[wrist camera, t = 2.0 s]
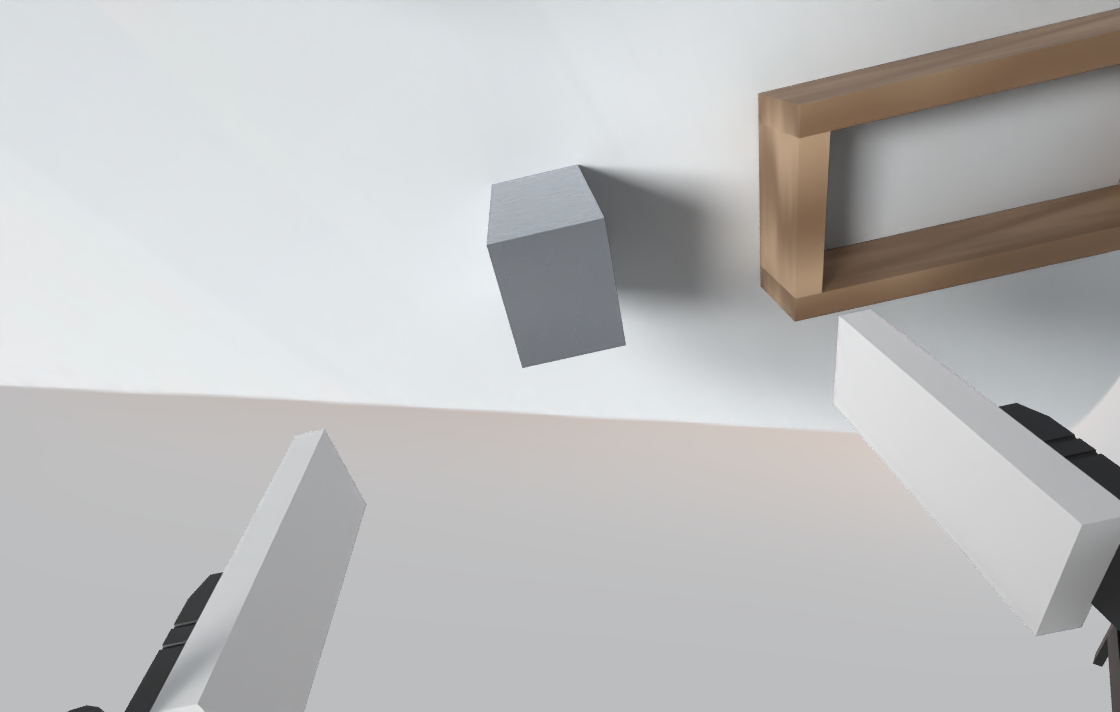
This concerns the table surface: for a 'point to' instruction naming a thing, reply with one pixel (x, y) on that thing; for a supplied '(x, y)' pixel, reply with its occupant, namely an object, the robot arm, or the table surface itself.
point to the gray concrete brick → (554, 266)
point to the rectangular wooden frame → (940, 251)
